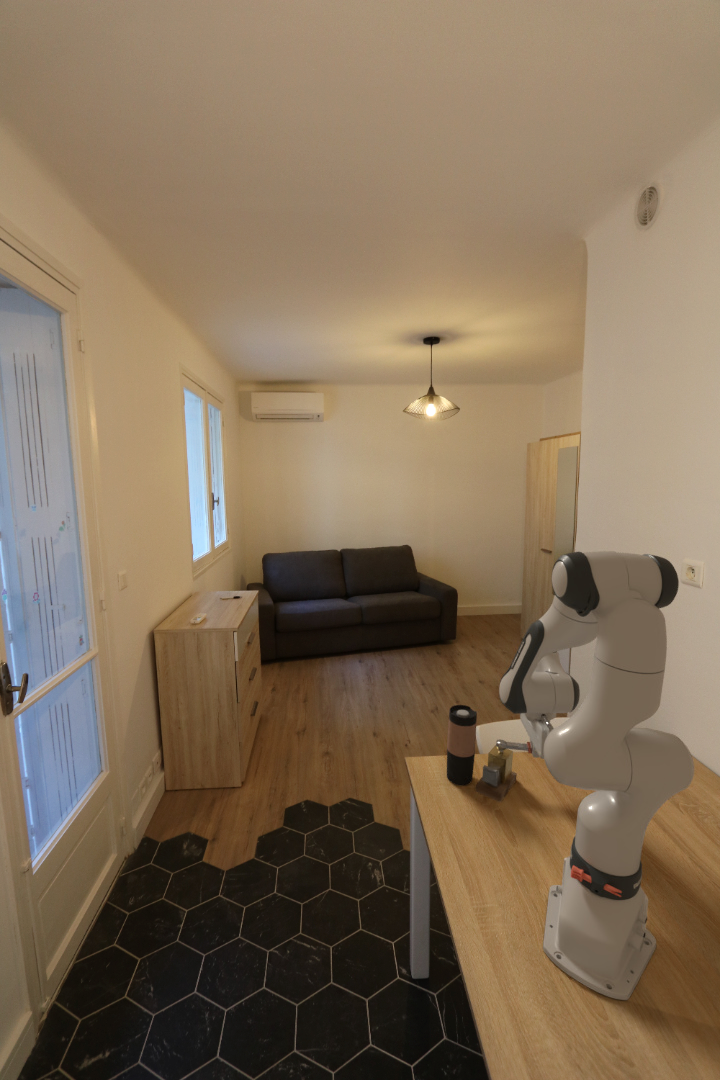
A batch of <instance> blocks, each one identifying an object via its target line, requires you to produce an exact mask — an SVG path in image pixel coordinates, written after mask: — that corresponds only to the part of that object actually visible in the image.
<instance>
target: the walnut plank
mask: <svg viewBox="0 0 720 1080" xmlns="http://www.w3.org/2000/svg"><path fill="white" fill-rule="evenodd" d="M517 774H518V773H516V772H515V771H512V773H511V776H510V777H509V778H508V780H507V781H506V782H505V784H504V783H502V782H501V783H500V785H499V786H498V788H496V787H493V786H491V785H489V784H486V782H485V781H482V777H483V775H482V777H480V779H479V780H478V781H477V783H476V784H475V789H474V791H475V793H477V794H480V795H483V796H485V797H486V798H489V799H491V800H493V801H495V802H498V803H501V802H502V801H503V799H504V798H505V797H506V796H507V794H508V793H509V791H510V789H511V788H512V787H513V785H514V783H515V782H516V781H517Z"/></svg>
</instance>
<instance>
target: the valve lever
mask: <svg viewBox="0 0 720 1080" xmlns="http://www.w3.org/2000/svg"><path fill="white" fill-rule="evenodd" d="M495 745H496V747H497V748H498V749H500V750H505V749H509V750H515V751H516V750H517V751H524V752H525V751H526V752H528V754H532V753H531V744H530V741H527V742H526V743H524V742H523V743H521V742H512V741H506V740H504V739H496V741H495Z"/></svg>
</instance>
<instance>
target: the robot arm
mask: <svg viewBox="0 0 720 1080" xmlns="http://www.w3.org/2000/svg"><path fill="white" fill-rule="evenodd" d="M679 585H680V582H679V575H678V573H677V571H676V569H675V567H674V565H673V564H672V562H671V561H669V559H667V558H666V557H662V556H660V555H659V556H658V555H654V554H650V553H649V554H648V553H644V554H637V553H629V552H617V551H612V550H611V551H608V550H607V551H606V550H603V551H602V550H601V551H589V552H588V551H587V552H582V551H574V552H568V553H564V554H561V555H560V556H559V557H558V558H557V559H556V561H555V562H554V564H553V567H552V571H551V587H552V591H553V596H554V597H553V600H552V603H551V605H550V607H549V608H548V609H547V611H546V612H545V613H544V614H543V615H542V616H541V617H540V618H539V619H537V620H536V621H534V622H532V623H531V624H530V625H529V627H528V628H527V631H526V632H525V634H524V636H523V638H522V640H521V642H520V644H519V646H518V648H517V650H516V653H515V655H514V657H513V659H512V661H511V664H510V665H509V667H508V669H507V670H506V671H505V672H504V673H503V675H502V677H501V679H500V682H499V687H498V688H499V689H498V692H499V693H498V695H499V700H500V703H501V704H502V705H503V706H504V707H505V708H506V709H507V710H508V711H510V712H511V713H512V714H514V715H518V714H519V717H520V718H519V719H520V721H521V724H522V725H523V728H524V729H525V732H526V733H527V735H528V738H529V742H530V744H531V753H530V754H531V755H532V757H533V758H537V759H538V758H540V759H542V760H543V761H544V763H545V766H546V768H547V771H548V772H549V773H550V775H551V776H552V777H553V779H554V780H555V781H556V782H558V783H559V784H561V785H565V786H569V787H572V788H576V789H579V790H584V791H593V792H592V793H590V794H588V795H586V796H585V797H584V798H583V799H582V800H581V802H580V803H579V806H578V808H577V813H576V814H577V817H576V826H575V827H576V828H575V836H574V837H572V844H571V846H570V852H569V853H570V855H569V856H567V857H565V858H563V866H562V867H563V868H562V880H561V885H560V884H553V885H551V886H550V887H549V890H548V896H547V897H548V899H547V908H546V913H545V914H546V915H545V924H544V932H543V942H542V949H543V952H544V953H545V955H546V956H547V957H548V959H550V960H551V962H552V963H553V964H555V966H557V967H558V968H559V969H560V970H562V971H563V972H564V973H565V974H566V975H568V976H569V977H571V978H572V979H574V980H575V981H577V982H579V983H580V984H581V985H584V986H585V987H587V988H589V989H591V990H593V991H595V992H596V993H599V994H601V995H603V996H605V997H609V998H611V999H615V1000H619V1001H621V1000H622V1001H627V1000H629V999H630V997H631V995H632V994H633V993H634V990H635V989H636V987H637V985H638V983H639V981H640V979H641V977H642V975H643V973H644V971H645V970H646V967H647V965H648V963H649V962H650V960H651V958H652V957H653V954H654V952H655V950H656V949H657V940H656V937H655V936H654V935H653V933H651V931H650V930H649V929H648V928H647V921H648V906H649V897H648V896H647V894H646V893H645V891H644V890H643V888H642V886H641V884H642V878H643V863H642V860H641V857H642V851H643V844H644V838H645V835H646V831H647V828H648V826H649V824H650V822H651V820H652V819H653V818H654V816H655V814H656V813H657V812H658V811H659V809H660V808H661V807H662V806H663V805H664V804H665V803H666V802H667V801H668V800H669V799H670V798H672V797H673V796H675V795H677V794H679V793H680V792H683V791H684V790H686V789H687V788H689V786H690V785H691V784H692V782H693V779H694V776H695V762H694V759H693V755H692V754H691V752H690V750H689V748H688V746H687V745H686V744H685V742H683V740H682V739H681V738H680V737H678V736H677V735H676V734H673V733H669V732H665V731H662V730H656V729H653V728H648V727H636V726H637V725H638V724H641V723H643V722H645V721H647V720H648V719H650V718H652V717H653V716H654V715H655V714H656V713H657V712H658V710H659V708H660V705H661V699H662V692H663V684H664V678H665V671H666V661H667V650H668V648H667V645H668V640H667V639H668V638H667V626H666V619H665V615H664V613H663V611H662V610H661V609H662V608H665V607H668V606H669V605H671V604H672V603H673V602H674V600H675V598H676V597H677V594H678V591H679ZM595 639H596V641H595ZM594 641H595V646H594V654H593V663H592V669H591V670H592V671H591V676H590V680H589V686H588V690H587V692H586V696H585V697H584V699H583V701H582V703H581V704H580V706H579V707H578V708H577V706H578V704H579V702H580V697H581V694H580V692H581V691H580V684H579V683H578V681H577V680H576V679H575V678H574V677H573V676H572V675H570V674H569V673H568V672H567V671H565V669H564V667H563V666H562V664H561V659H560V654H559V651H563V650H567V649H571V648H572V649H573V648H579V647H582V646H585V645H587V644H590V643H591V642H594ZM576 708H577V710H576V711H575V712H574V713H573V715H571V716H570V717H569V718H568V719H567V720H565V721H564V722H563V723H561V724H560V725H558V726H556V727H554V726H553V725H552V723H551V720H554V719H555V718H557V714H566V713H572V712H573V711H574V710H575V709H576Z"/></svg>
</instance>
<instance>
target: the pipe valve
mask: <svg viewBox="0 0 720 1080" xmlns="http://www.w3.org/2000/svg"><path fill="white" fill-rule="evenodd" d="M513 755H514V751H513V750H512V749H505V750H500V749H498V748H497V747H496V744H495V745H494V746H493V747H492V748H491V749H490V751H489V752H488V756H487V765H486V764H484V765H483V766H482V776H483V777H481V778H482V781H485V782H486V784H489V785H491V786H493V787H496V788H498V786H499V785H500V783H501V782H502V783H504V784H505V782H506V781H507V780H508V778H509V777H510V776H511V773H512V772H513V771H512V770H513V757H514V756H513Z"/></svg>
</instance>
